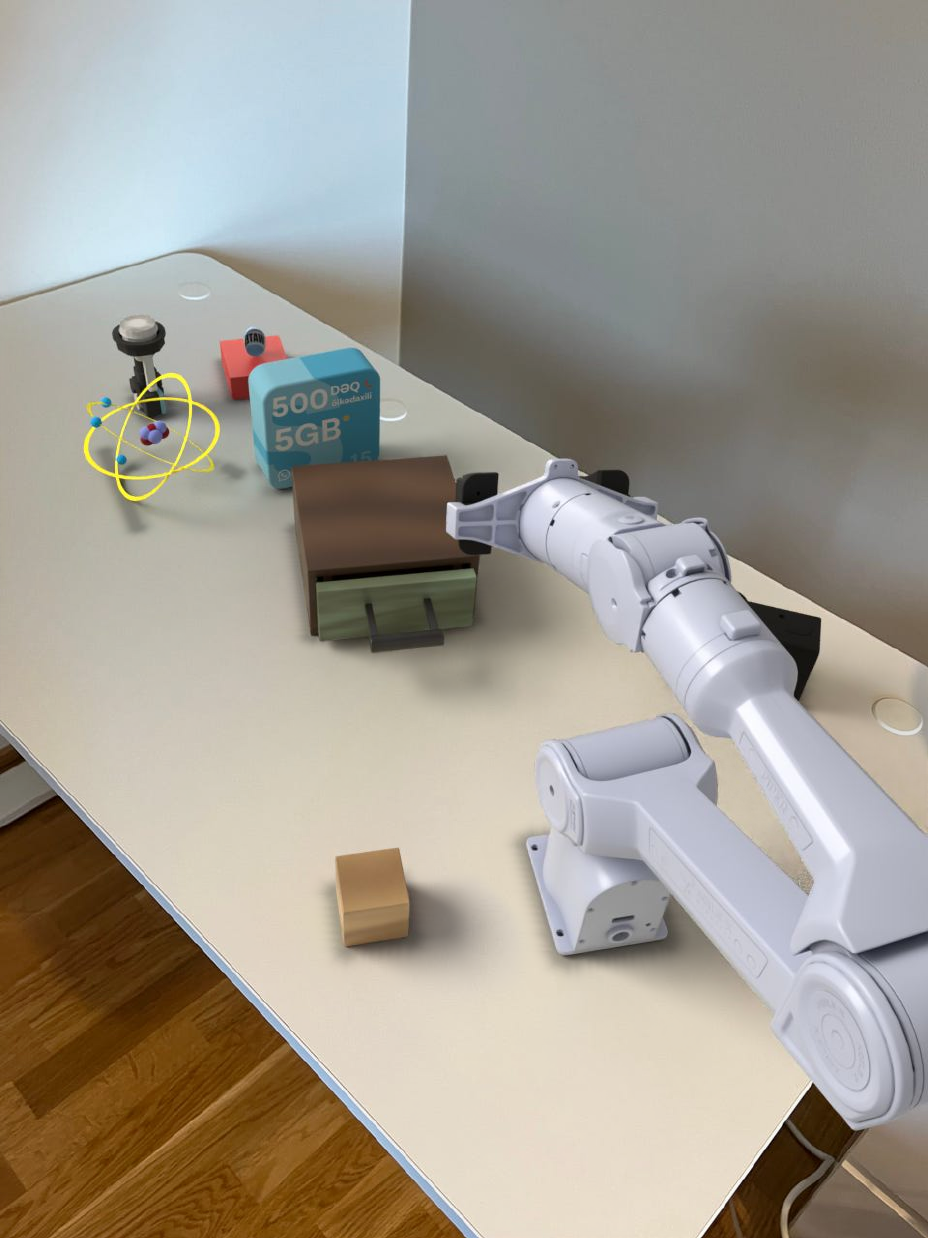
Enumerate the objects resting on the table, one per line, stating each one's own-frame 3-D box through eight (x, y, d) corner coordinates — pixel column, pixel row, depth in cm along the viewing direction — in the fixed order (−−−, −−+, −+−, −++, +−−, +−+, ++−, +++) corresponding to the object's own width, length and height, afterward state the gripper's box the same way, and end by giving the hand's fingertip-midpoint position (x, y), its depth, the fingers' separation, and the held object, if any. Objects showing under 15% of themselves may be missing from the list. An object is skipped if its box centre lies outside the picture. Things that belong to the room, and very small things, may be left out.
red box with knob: (221, 362, 124) (216, 312, 120) (280, 356, 126) (277, 307, 121) (232, 399, 119) (227, 349, 114) (293, 393, 120) (290, 342, 116)
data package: (269, 493, 107) (261, 389, 99) (255, 468, 110) (246, 365, 102) (380, 467, 111) (381, 366, 103) (363, 443, 114) (363, 343, 106)
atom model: (66, 439, 110) (192, 395, 115) (123, 557, 106) (252, 507, 110) (38, 357, 98) (181, 311, 102) (101, 486, 94) (248, 432, 98)
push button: (114, 394, 118) (98, 311, 111) (160, 382, 120) (147, 300, 113) (136, 424, 114) (121, 340, 107) (183, 411, 116) (172, 328, 109)
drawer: (484, 668, 91) (490, 619, 86) (326, 686, 88) (324, 636, 84) (442, 529, 103) (445, 480, 99) (303, 540, 101) (301, 491, 97)
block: (408, 937, 73) (409, 903, 70) (344, 947, 72) (343, 913, 69) (397, 882, 76) (399, 847, 73) (336, 891, 75) (334, 856, 72)
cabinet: (473, 619, 96) (480, 555, 91) (310, 635, 93) (307, 570, 88) (442, 517, 106) (446, 454, 101) (295, 529, 103) (291, 465, 98)
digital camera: (800, 664, 95) (823, 607, 90) (797, 708, 91) (821, 651, 86) (683, 637, 96) (700, 579, 91) (676, 679, 92) (693, 621, 87)
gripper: (697, 471, 67) (603, 435, 80) (481, 476, 63) (416, 436, 75) (684, 578, 70) (595, 527, 82) (475, 590, 65) (413, 534, 77)
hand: (509, 490), depth 79 cm, fingers open, 7 cm apart
